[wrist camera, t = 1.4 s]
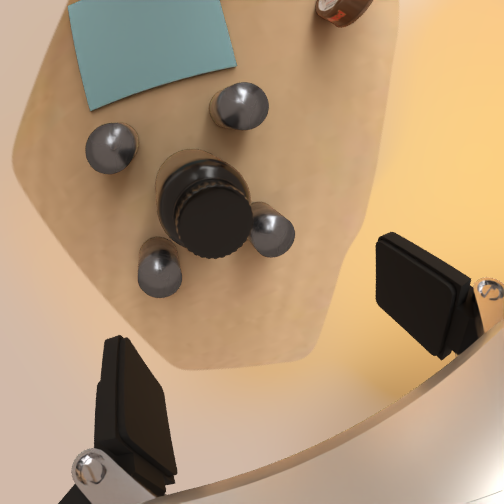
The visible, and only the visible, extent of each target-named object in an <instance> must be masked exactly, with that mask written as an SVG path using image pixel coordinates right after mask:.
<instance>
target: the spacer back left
mask: <svg viewBox="0 0 504 504" xmlns="http://www.w3.org/2000/svg"><path fill="white" fill-rule="evenodd" d="M181 282H182V274H181V269H180V264H179V259H178V254H177V250H176V247H175V245H174V244H173V243H172V242H171V241H170V240H168V239H166V238H163V237H154V238H151V239H149V240H147V241H146V242H145V243H144V244H143V245H142V247H141V249H140V252H139V266H138V283H139V286H140V288H141V289H142V290H143V291H144V292H145V293H146V294H147V295H149V296H152V297H155V298H164V297H168V296H170V295H172V294H174V293H175V292H176V291H177V290H178V289H179V287H180V285H181Z"/></svg>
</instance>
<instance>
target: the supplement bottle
mask: <svg viewBox="0 0 504 504" xmlns="http://www.w3.org/2000/svg"><path fill="white" fill-rule="evenodd" d="M155 189H156V202H157V212H158V217H159V220H160V223H161V225H162V227H163V229H164V231H165V232H166V234H167V235H168V236H169V237H170V238H171V239H172V240H173V241H175V242H176V243H177V244H179V245H181V246H183V247H185V248H187V249H188V251H190V252H193V253H194V254H195V255H199V256H200V257H206V258H208V259H210V258H214V259H217V258H219V257H221V258H223V257H225V256H226V255H230V254H231V253H232V252H235V251H237V249H238V248H240V247H242V245H243V243H244V242H246V241H247V237H248V236H249V235H250V231H251V229H252V223H253V218H252V217H253V212H252V211H251V210H252V207H251V197H250V192H249V188H248V186H247V183H246V181H245V180H244V178H243V177H242V175H241V174H240V173H239V172H238V171H237V170H236V169H235V168H234V167H232V166H231V165H229V164H228V163H226V162H224V161H223V160H221V159H219V158H217V157H215V156H214V155H212V154H210V153H208V152H206V151H203V150H199V149H186V150H182V151H179V152H177V153H175V154H173V155H172V156H170V157H169V158H168V159H167V160H166V161H165V162H164V163H163V164H162V166H161V167H160V169H159V171H158V174H157V177H156V186H155Z"/></svg>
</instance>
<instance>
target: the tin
mask: <svg viewBox="0 0 504 504" xmlns="http://www.w3.org/2000/svg"><path fill="white" fill-rule="evenodd" d="M372 1H373V0H317V3H316V12H317V14H318V15H319V16H320V17H322V18H324V19H326V20H327V21H329V22H331V23H333V24H335V25H336V26H337V27H341V28H342V27H346V26H348V25H350V24H352V23H353V22H355V21H356V20H357V19H358V18H359V17H360V16H361V15H362V14H363V13H364V12H365V11H366V10H367V9H368V7H369V6H370V4H371V3H372Z"/></svg>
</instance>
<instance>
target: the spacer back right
mask: <svg viewBox="0 0 504 504" xmlns="http://www.w3.org/2000/svg"><path fill="white" fill-rule="evenodd" d="M251 207H252V210H251V211H252V212H253V217H252V218H253V223H252V229H251V231H250V235H249V236H248V237H247V238H248V239H249V241H250V242H251V243H252V244H253V246H254V247H255V248H256V250H257V251H258V252H259V253H260V254H261V255H263V256H265V257H277V256H280V255H282V254H284V253H285V252H286V251H288V249H289V248H290V247H291V246H292V244H293V241H294V238H295V230H294V227H293V225H292V223H291V222H290V221H289V220H288V219H286V218H285V217H284V216H282V215H281V214H280V213H279V212H277V211H276V210H275V209H273V208H272V207H271V206H270V205H268V204H266V203H264V202H255V203H252V204H251Z"/></svg>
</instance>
